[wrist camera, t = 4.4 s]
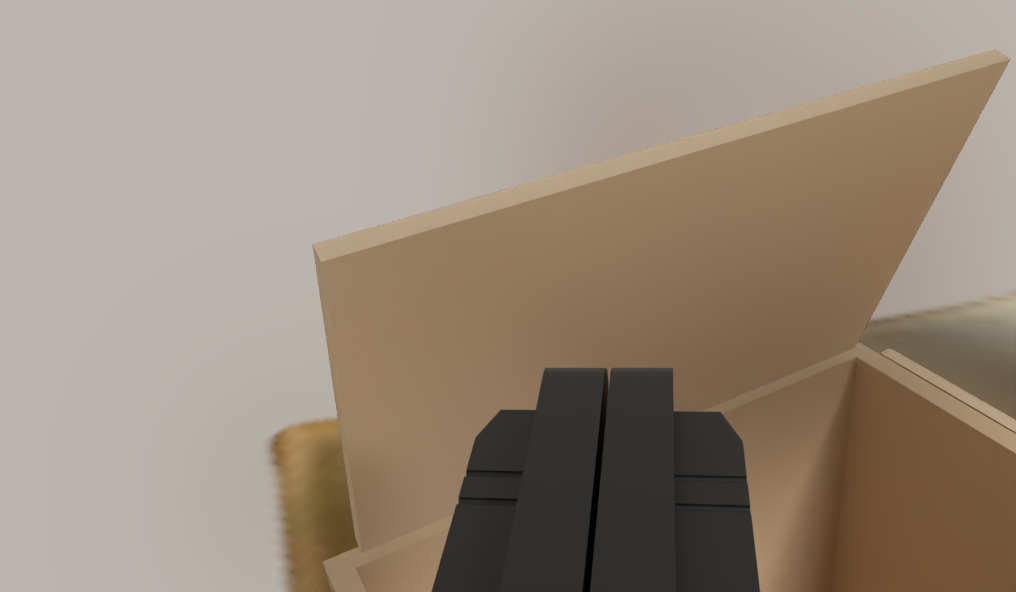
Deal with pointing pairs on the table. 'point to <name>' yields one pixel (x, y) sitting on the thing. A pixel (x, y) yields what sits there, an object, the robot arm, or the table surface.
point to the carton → (833, 487)
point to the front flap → (630, 277)
